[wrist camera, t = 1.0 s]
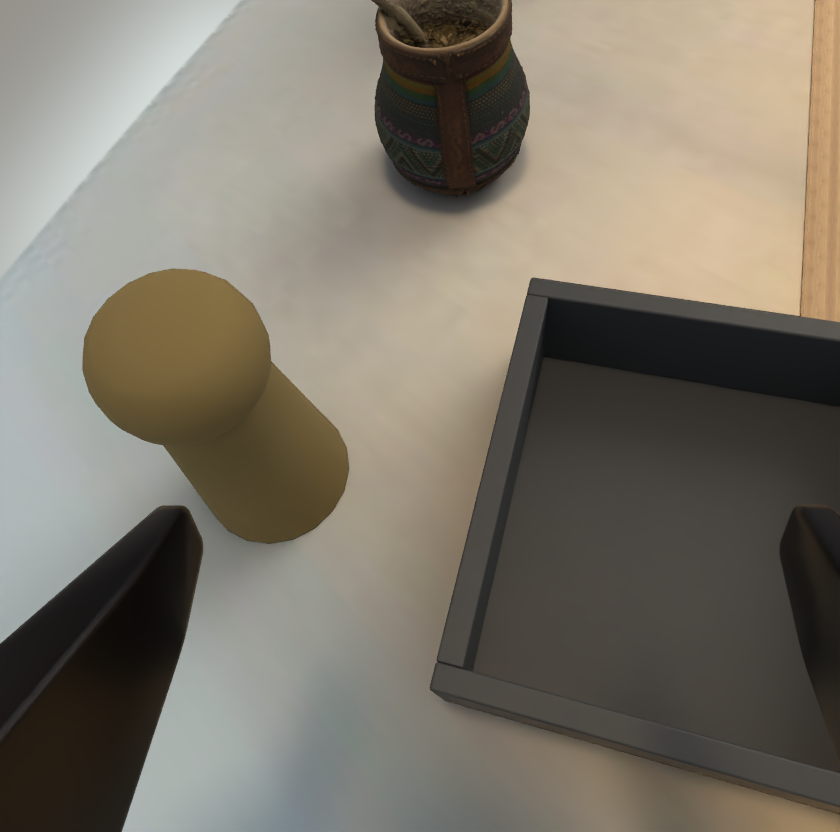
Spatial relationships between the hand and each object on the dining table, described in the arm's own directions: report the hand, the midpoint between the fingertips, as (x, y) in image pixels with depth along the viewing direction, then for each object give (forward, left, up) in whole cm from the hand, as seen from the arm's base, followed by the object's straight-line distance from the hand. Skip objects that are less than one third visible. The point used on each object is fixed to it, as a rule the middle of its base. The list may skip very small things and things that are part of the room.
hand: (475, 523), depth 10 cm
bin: (+6, -5, -15) cm, 17 cm away
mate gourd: (+22, +9, -16) cm, 28 cm away
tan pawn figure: (+4, +11, -16) cm, 19 cm away
